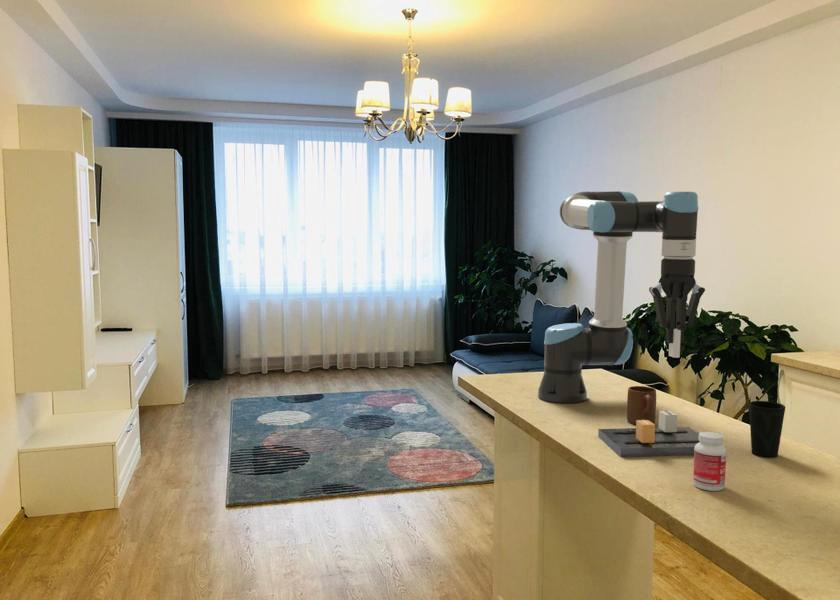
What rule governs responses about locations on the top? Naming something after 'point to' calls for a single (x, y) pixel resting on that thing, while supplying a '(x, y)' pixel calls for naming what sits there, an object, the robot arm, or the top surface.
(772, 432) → the cup
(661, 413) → the fader
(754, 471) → the top surface
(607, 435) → the console
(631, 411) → the mug
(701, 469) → the pill bottle
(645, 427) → the fader
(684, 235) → the robot arm
